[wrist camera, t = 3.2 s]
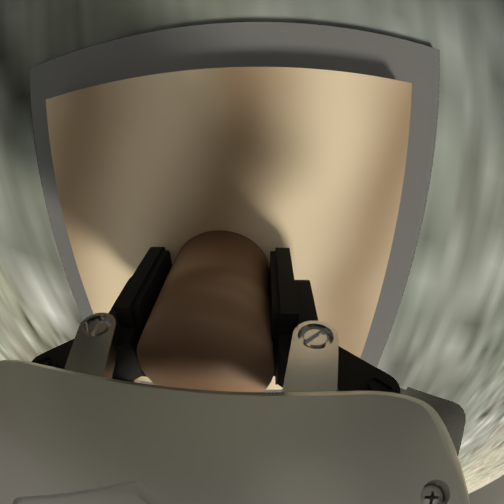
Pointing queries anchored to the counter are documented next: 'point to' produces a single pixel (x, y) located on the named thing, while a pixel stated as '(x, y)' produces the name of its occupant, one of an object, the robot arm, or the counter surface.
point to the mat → (259, 55)
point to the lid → (232, 205)
